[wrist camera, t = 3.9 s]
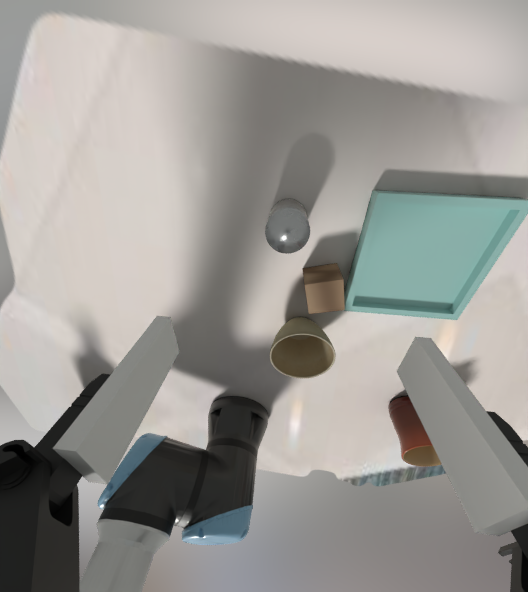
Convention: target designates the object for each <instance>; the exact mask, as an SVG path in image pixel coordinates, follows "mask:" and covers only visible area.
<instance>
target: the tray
mask: <svg viewBox="0 0 528 592" xmlns="http://www.w3.org/2000/svg"><path fill="white" fill-rule="evenodd" d="M527 214H528V199H524V198H516V197H496V196H477V195H457V194H437V193H418V192H398V191H378V190H373V191H372V195H371V198H370V202H369V205H368V209H367V213H366V216H365V220H364V223H363V227H362V231H361V234H360V238H359V242H358V245H357V249H356V252H355V256H354V260H353V263H352V267H351V270H350V274H349V278H348V281H347V285H346V288H345V292H344V304H345V310H344V311H354V312H366V313H378V314H390V315H402V316H415V317H427V318H439V319H451V320H457V319H458V318H459V316H460V315H461V313H462V312H463V310H464V309H465V307H466V306H467V304H468V303H469V301H470V300H471V298H472V297H473V295H474V294H475V292H476V291H477V289H478V288H479V286H480V285H481V283H482V282H483V280H484V279H485V277H486V276H487V274H488V273H489V271H490V270H491V268H492V267H493V265H494V264H495V262H496V261H497V259H498V258H499V256H500V255H501V253H502V252H503V250H504V249H505V247H506V246H507V244H508V243H509V241H510V240H511V238H512V237H513V235H514V234H515V232H516V230H517V229H518V227H519V226H520V224H521V223H522V221H523V220H524V218H525V217H526V215H527Z"/></svg>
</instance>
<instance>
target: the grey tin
mask: <svg viewBox="0 0 528 592" xmlns="http://www.w3.org/2000/svg"><path fill="white" fill-rule="evenodd" d="M265 234H266V239H267V241H268V243H269V245H270V246H271V247H272V248H273V249H275V250H276V251H278V252H281V253H293V252H296V251H298V250H300V249H301V248H302V247H304V245H305V244H306V243H307V241H308V239H309V235H310V226H309V222H308V218H307V214H306V211H305V208H304V207H303V205H302V204H301V203H300V202H298V201H296V200H293V199H284V200H281V201H279V202H278V203H276V204H275V205H274V206H273V208H272V210H271V212H270V215H269V218H268V222H267V225H266V230H265Z"/></svg>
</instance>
